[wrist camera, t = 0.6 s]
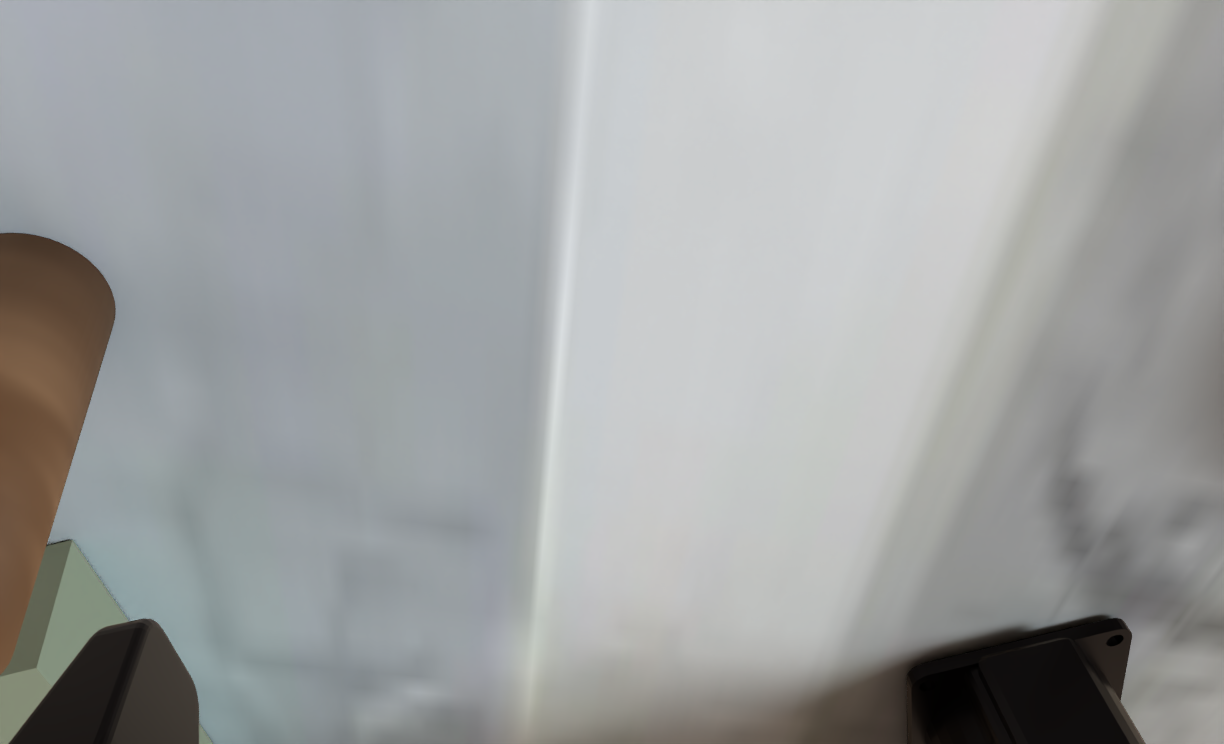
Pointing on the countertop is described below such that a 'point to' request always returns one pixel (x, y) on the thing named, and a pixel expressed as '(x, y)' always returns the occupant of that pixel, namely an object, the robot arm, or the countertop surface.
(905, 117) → the countertop surface
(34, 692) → the hole block
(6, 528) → the long pin
